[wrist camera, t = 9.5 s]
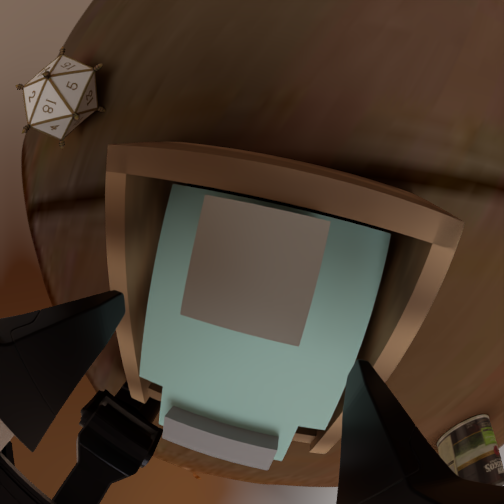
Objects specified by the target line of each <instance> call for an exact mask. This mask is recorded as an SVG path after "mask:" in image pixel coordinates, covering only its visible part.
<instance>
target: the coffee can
mask: <svg viewBox="0 0 504 504" xmlns="http://www.w3.org/2000/svg"><path fill="white" fill-rule="evenodd" d="M437 447H438V451H439V456H440V457H441V458H442V459H443V461H444V462H445V463H446V464H447V465H448V466H449V467H450V469H451V470H452V471H453V472H454V473H455V474H456V475H458V476H459V477H461V478H463V479H466V480H470V481H475V482H480V483H486V484H492V485H498V486H503V485H504V469H503V465H502V461H501V457H500V453H499V449H498V446H497V442H496V439H495V436H494V433H493V429H492V426H491V423H490V420H489V416H488V415H486V414H481V415H477V416H474V417H471V418H469V419H467V420H465V421H463V422H461V423H459V424H457V425H456V426H454V427H453V428H451V429H450V430H449V431H447V432H446V433H445V434H444V435H443V436H442V437H441V438H440V439H439V440H438V442H437Z"/></svg>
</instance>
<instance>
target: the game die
mask: <svg viewBox="0 0 504 504" xmlns="http://www.w3.org/2000/svg"><path fill="white" fill-rule="evenodd" d="M64 52H65V48H64V47H63V46H62V48H61V49H60V56H59V57H57V58H56V59H55V60H54V61H52V62H51V63H50V64H49V65H47V66H46V67H45V68H44V69H42V70H41V71H40V72H39V73H38V74H37V75H35V76H34V77H33V78H32V79H31V80H30V81H29V82H28V83H26V84H25V85H24V86H23V85H21V84H18V85H16V88H17V90H18V89H19V90H20V89H22V90H23V97H24V105H25V111H26V117H27V123H28V125H27V126H25V127H24V128H23V131H22V133H26V132H27V131H28V130H29V128H32V129H35V130H37V131H39V132H42V133H44V134H47V135H49V136H52V137H54V138H56V139H59V140H60V143H59V144H60V145H59V146H60V147H61V148H62V149H63V147H64V145H65V144H64V141H63V139H64V138H65V137H66V136H67V135H68V134H70V133H71V132H72V131H73V130H74V129H75V128H76V127H77V126H78V125H80V124H81V123H82V122H83V121H84V120H85V119H86V118H88V117H89V116H90V115H91V114H92V113H94V112H95V111H96V110H98V111H99V112H104V111H105V109H104V107H102V106H101V107H98V99H97V87H96V72H95V71H97V70H99V69H101V66H102V65H103V64H97V65H96V66H95V67H94V68H92V67H90V66H88V65H86V64H84V63H81V62H79V61H77V60H75V59H72V58H70V57H68V56H66V55H64Z"/></svg>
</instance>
